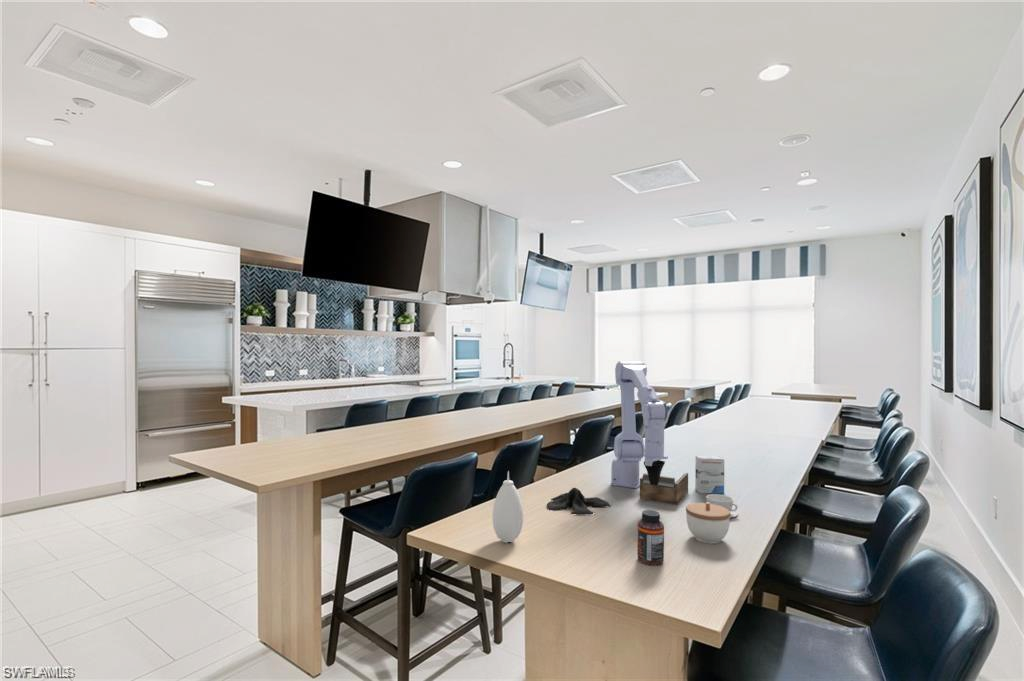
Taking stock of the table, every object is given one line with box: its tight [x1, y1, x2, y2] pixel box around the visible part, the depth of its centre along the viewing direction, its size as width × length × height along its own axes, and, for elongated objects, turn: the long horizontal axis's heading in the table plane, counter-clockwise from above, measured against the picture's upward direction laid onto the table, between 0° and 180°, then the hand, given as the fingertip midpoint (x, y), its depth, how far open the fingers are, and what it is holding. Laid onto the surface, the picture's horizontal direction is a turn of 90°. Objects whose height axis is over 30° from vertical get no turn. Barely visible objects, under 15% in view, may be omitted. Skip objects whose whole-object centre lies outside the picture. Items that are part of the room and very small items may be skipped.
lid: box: [642, 469, 685, 487], centre depth 168 cm, size 10×16×3 cm, turn 149°
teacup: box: [706, 493, 739, 518], centre depth 151 cm, size 10×10×5 cm
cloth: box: [546, 487, 612, 515], centre depth 158 cm, size 22×19×6 cm
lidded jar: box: [685, 501, 731, 545], centre depth 131 cm, size 11×11×9 cm
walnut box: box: [638, 472, 689, 506], centre depth 168 cm, size 12×16×6 cm
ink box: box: [694, 455, 725, 495], centre depth 173 cm, size 8×5×12 cm, turn 84°
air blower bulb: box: [492, 470, 524, 543], centre depth 128 cm, size 8×8×18 cm
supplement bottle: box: [637, 509, 665, 566], centre depth 118 cm, size 6×6×11 cm
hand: (654, 484), depth 157 cm, fingers closed
